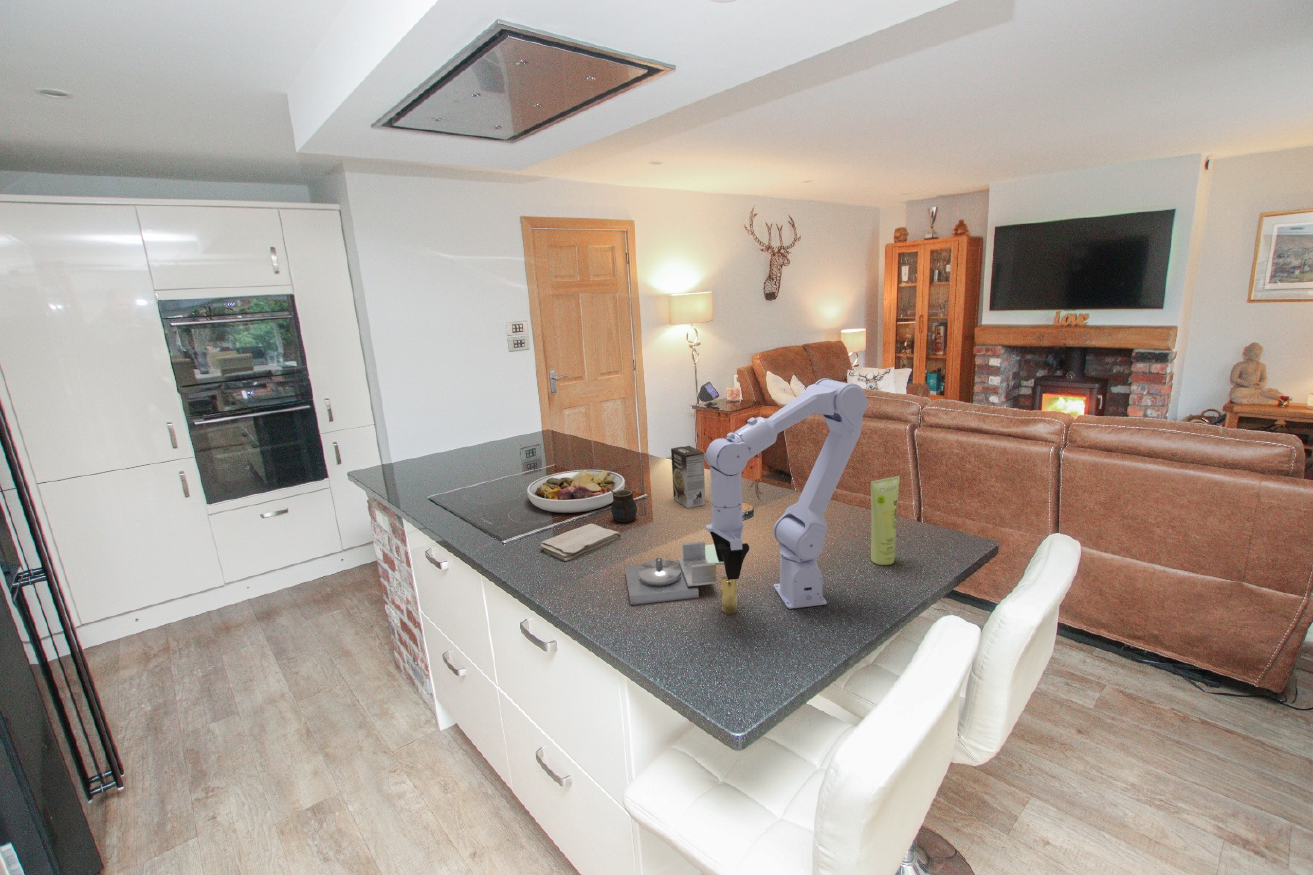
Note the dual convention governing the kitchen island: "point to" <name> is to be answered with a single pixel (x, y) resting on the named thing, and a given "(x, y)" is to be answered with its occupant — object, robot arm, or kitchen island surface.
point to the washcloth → (579, 542)
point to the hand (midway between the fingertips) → (728, 569)
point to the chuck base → (656, 588)
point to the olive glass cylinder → (729, 595)
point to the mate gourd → (623, 505)
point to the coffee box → (688, 476)
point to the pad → (711, 554)
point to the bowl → (575, 490)
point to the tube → (884, 519)
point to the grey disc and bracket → (691, 565)
